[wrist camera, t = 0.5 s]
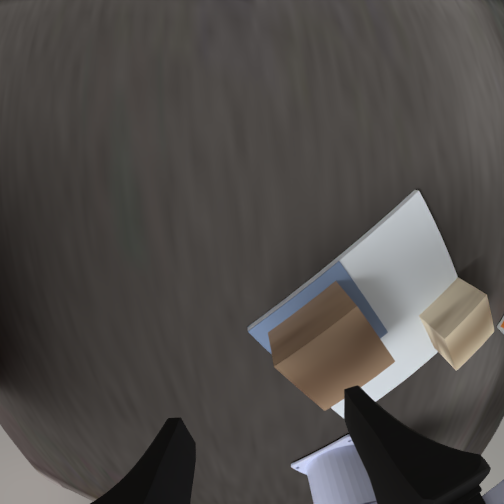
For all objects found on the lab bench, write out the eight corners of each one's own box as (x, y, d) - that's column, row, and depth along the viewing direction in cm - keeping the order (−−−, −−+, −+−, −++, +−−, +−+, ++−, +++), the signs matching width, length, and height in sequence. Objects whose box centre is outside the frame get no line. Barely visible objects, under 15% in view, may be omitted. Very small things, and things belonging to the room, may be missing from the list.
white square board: (467, 316, 22) (471, 319, 21) (344, 416, 24) (346, 421, 23) (414, 189, 18) (419, 190, 18) (247, 326, 21) (247, 331, 20)
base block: (373, 333, 21) (395, 361, 17) (313, 377, 21) (324, 410, 18) (335, 280, 19) (357, 305, 15) (267, 332, 20) (274, 366, 16)
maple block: (469, 312, 21) (494, 331, 17) (434, 347, 22) (456, 370, 18) (457, 277, 20) (486, 294, 16) (418, 315, 21) (444, 339, 17)
